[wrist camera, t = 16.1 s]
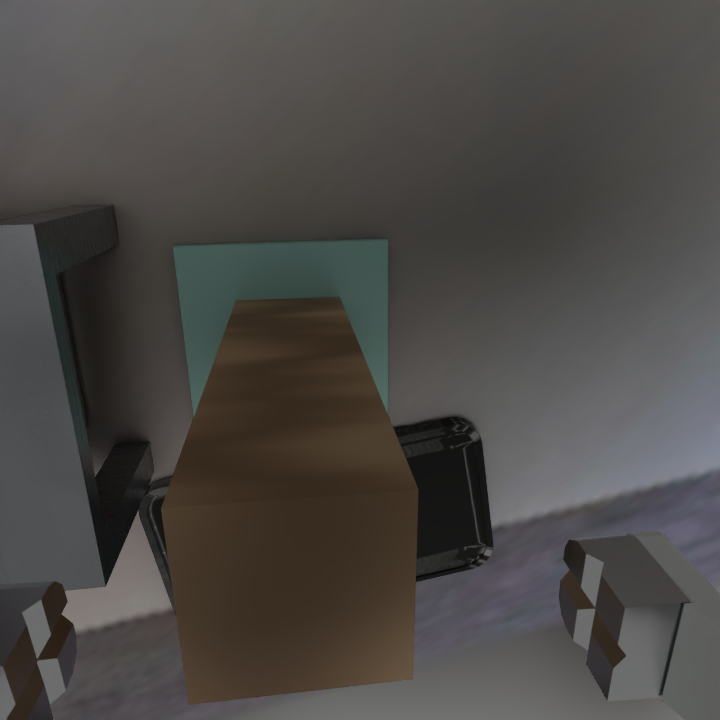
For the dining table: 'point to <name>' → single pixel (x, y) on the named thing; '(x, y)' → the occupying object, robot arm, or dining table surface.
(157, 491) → the phone
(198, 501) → the peg
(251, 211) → the dining table surface
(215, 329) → the mat
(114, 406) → the dining table surface
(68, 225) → the frame
